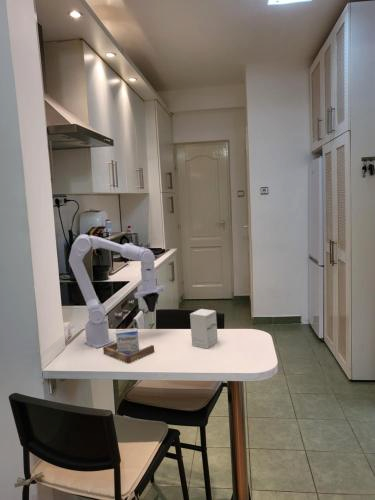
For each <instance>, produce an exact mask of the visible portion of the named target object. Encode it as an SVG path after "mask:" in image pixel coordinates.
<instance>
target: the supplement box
mask: <svg viewBox="0 0 375 500" xmlns="http://www.w3.org/2000/svg"><path fill="white" fill-rule="evenodd" d="M189 319H190V322H189V323H190V332H191V333H190V336H191V345H192V346H194V347H198V348H203V349H209V348H210V347H211V346H213V345H215V344H217V343H218V342H219V341H218V338H219V337H218V325H217V324H218V323H217V321H218V320H217V311H216V310H213V309H205V308H199V309H198V310H195V311H193V312H191V313H189Z"/></svg>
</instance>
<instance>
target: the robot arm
mask: <svg viewBox="0 0 375 500" xmlns="http://www.w3.org/2000/svg"><path fill="white" fill-rule="evenodd" d="M91 249H92V250H97V249H105V250H109V251H113V252H116V253H120V256H121V257H122V258H125V259H129V260H131V261H135V262H140V275H141V276H140V277H141V285H142V286H141V287H142V289H141V290H139V291H136V292H133V297H134V299H140V298H142V299H143V301H144V303H145V304H146V307H147V310H148V312H150V313H154V312H155V308H156V305H157V300H158V299H159V297H160V294H159V293H160V292H164V291H166V287H165V285H157V276H156V275H157V274H156V267H155V261H156V256H155V254H154V252H153V250H151V249H149V248H147V247H144V246H137V245H134V244H133V242H129V243H127V242H125V243H123V244H120V243H117V242H114V241H112V240H108V239H106V238H103V237H99V236H96V235H92V234H91V235H88V234H86V233H84V234H83V233H82V234H79V235H78V236H77V237H76V238H75V240H74V242H73V243H72V245H71V249H70V254H69V256H68V257H69V258H68V263H69V265H70V267H71V269H72V272H73V275H74V277H75V280H76V282H77V285H78V287H79V289H80V291H81V294H82V296H83V299H84V301H85V304H86V308H87V310H88V321H87V322H86V324H85V326H84V328H85V329H84V330H85V338H86V341H84V344H85V345H88V346H92V347H94V348H96V349H98V348H99V349H100V348H101V347H102V348H103V347H105V346H108V345H111V344H113V343H115V341H114V340H113V339H110V334H109V324H108V318H107V317H106V308H105V307H106V306H104V304H103V303H101V301H100V299H99V297H98V295H97V294H96V291H95V289H94V286H93V284H92V281H91V278H90V276H89V274H88V271H87V269H86V267H85V264H84V262H83V260H84V258H85V255H86V254H87V253H88V252H89V251H90V250H91Z"/></svg>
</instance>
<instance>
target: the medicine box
mask: <svg viewBox="0 0 375 500" xmlns="http://www.w3.org/2000/svg"><path fill="white" fill-rule="evenodd" d="M115 337H116V342H117V348H118V350H117V351H119V352H121V353H124V354H127V355H128V354H132V353H134V352H137V351H139V350H140V343H139V333H138V328H137V327H134V328H125V329H117V330H116V331H115Z"/></svg>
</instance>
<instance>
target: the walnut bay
mask: <svg viewBox="0 0 375 500" xmlns="http://www.w3.org/2000/svg"><path fill="white" fill-rule="evenodd" d="M117 349H118V348H117V341H116V342H112V343H110V344H107V345H104V346H102V350H103V354H104V355H105V356H109V357H112V358H113V357H114V358H113V359H116V360H118V359H120V360H119V361H121V360H122V361H121V362H123V361H125V362H124V363H126V362H127V364H128V363H129V364H131V363H133V362H135V360H136V361H138V360H140V359H143V358H144V357H147V356H149V355H151V354H154V353H155V345H153V344H151V345H148V346H146V347H144V348H141V349H139V351H137V352H134V353H132V354H129V355H127V354H124V353H121V352H119V351H118V350H117ZM153 352H154V353H153ZM137 359H138V360H137ZM132 361H133V362H132ZM130 362H131V363H130Z"/></svg>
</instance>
